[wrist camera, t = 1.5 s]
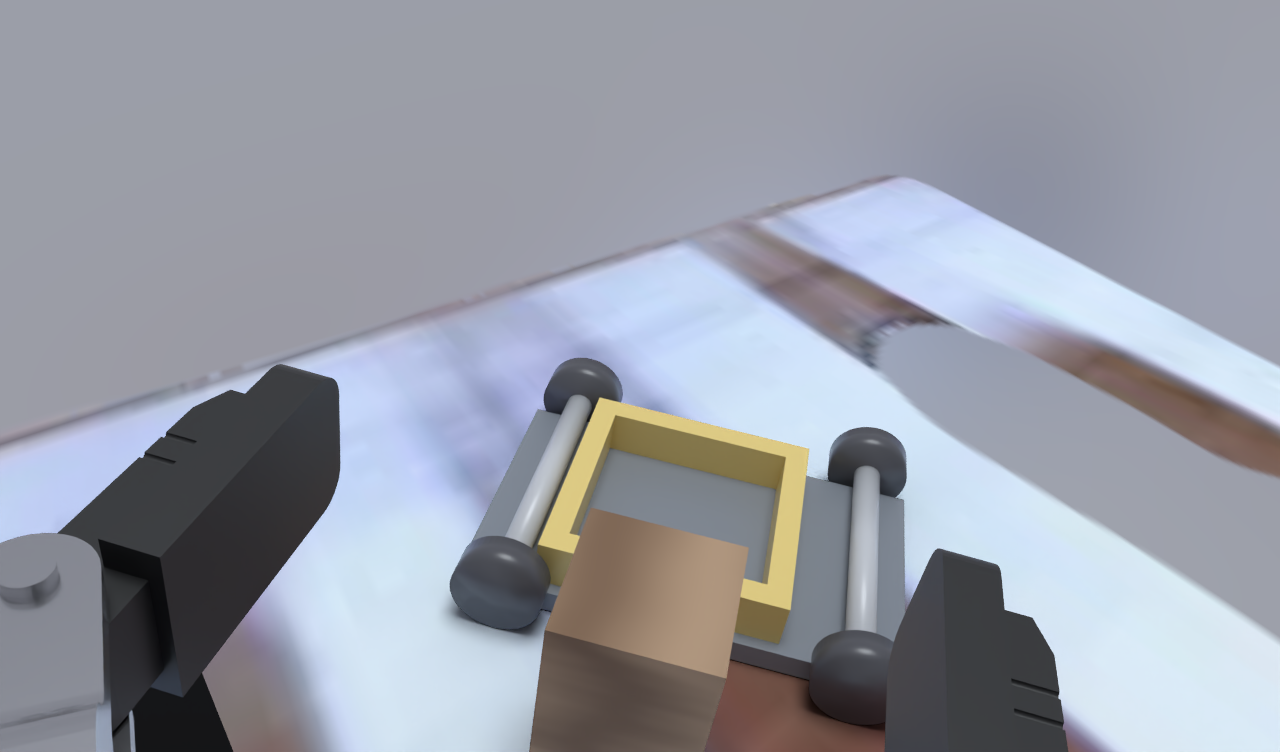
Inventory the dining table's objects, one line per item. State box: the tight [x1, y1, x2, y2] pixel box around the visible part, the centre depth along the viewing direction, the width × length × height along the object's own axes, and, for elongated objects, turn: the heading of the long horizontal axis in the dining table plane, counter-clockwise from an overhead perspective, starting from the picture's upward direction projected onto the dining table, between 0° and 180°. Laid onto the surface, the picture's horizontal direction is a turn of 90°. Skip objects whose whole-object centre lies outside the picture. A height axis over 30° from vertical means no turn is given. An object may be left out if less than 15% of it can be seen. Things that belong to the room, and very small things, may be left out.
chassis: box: [450, 358, 906, 725], centre depth 43 cm, size 18×14×4 cm
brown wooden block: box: [529, 508, 749, 752], centre depth 32 cm, size 5×5×10 cm
